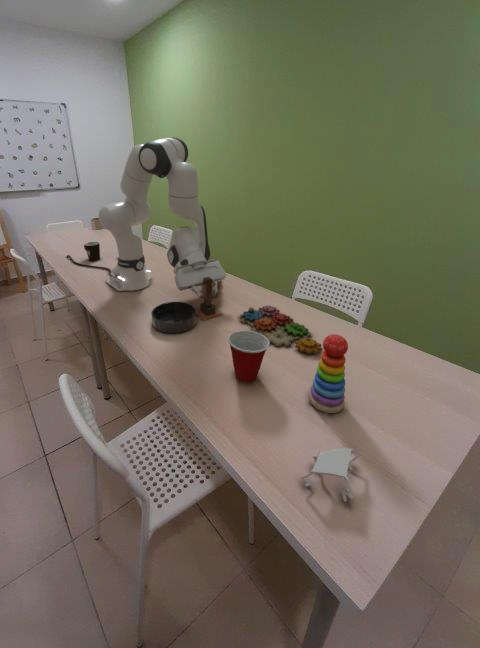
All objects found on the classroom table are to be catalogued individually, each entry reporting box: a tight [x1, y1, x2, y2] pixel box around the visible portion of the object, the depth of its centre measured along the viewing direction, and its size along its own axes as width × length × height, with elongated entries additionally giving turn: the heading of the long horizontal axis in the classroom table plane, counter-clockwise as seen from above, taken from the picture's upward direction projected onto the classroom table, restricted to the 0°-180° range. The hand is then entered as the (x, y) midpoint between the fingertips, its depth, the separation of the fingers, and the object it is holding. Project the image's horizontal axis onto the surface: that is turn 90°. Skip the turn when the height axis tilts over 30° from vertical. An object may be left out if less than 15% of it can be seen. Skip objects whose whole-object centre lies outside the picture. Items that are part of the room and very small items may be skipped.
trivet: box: [195, 307, 222, 321], centre depth 116 cm, size 8×8×1 cm
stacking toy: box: [308, 333, 349, 414], centre depth 69 cm, size 8×8×19 cm
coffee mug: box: [83, 241, 101, 262], centre depth 181 cm, size 12×9×10 cm
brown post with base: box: [199, 277, 217, 316], centre depth 113 cm, size 5×4×14 cm
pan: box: [150, 301, 198, 334], centre depth 109 cm, size 16×16×4 cm
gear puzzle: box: [239, 304, 323, 355], centre depth 101 cm, size 31×16×4 cm, turn 25°
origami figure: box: [299, 447, 360, 503], centre depth 55 cm, size 12×8×5 cm
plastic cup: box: [227, 329, 271, 384], centre depth 80 cm, size 11×11×12 cm
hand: (208, 294), depth 112 cm, fingers open, 5 cm apart
